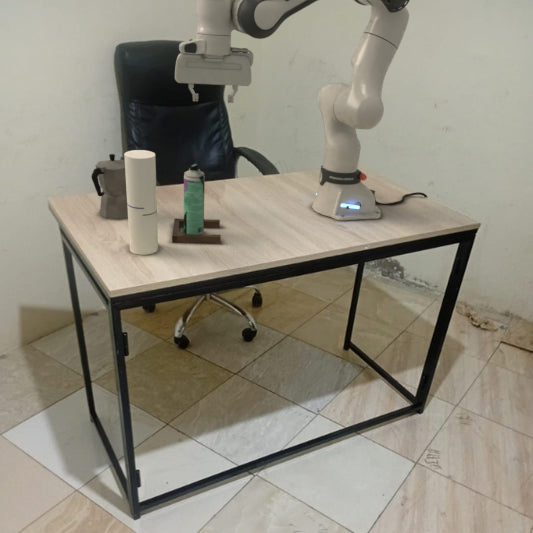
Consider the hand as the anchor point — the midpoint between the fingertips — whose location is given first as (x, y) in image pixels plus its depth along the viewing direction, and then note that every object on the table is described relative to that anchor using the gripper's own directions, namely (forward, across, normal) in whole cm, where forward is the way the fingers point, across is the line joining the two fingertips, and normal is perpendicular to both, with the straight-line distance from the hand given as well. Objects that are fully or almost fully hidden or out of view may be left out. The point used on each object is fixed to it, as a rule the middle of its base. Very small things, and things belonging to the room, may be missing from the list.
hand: (213, 101), depth 136 cm
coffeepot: (+34, +29, 0) cm, 44 cm away
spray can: (+34, +5, +12) cm, 37 cm away
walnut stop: (+34, +4, +12) cm, 36 cm away
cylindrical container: (+34, +18, +22) cm, 44 cm away
